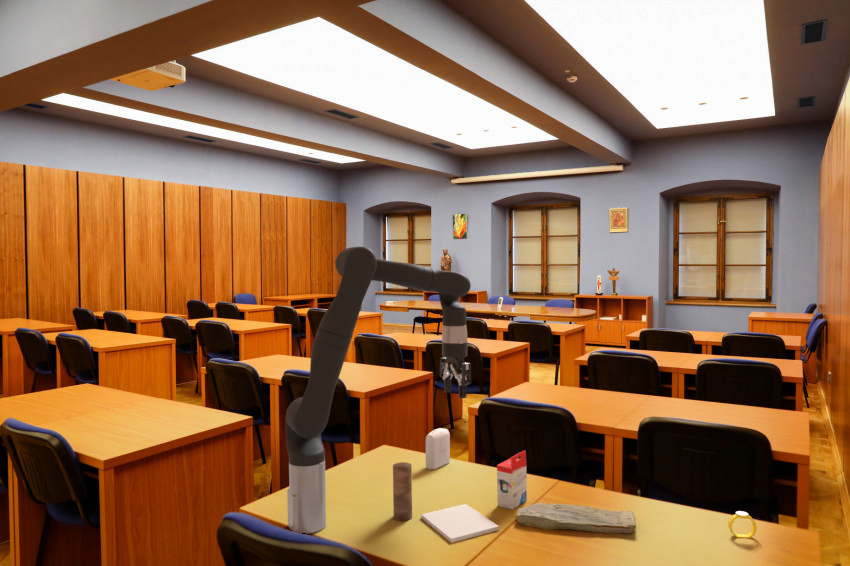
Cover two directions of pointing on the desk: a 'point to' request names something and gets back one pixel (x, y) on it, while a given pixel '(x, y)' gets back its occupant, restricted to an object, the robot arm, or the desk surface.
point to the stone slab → (576, 518)
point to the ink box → (512, 481)
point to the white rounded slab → (437, 448)
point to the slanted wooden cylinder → (402, 491)
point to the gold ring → (742, 515)
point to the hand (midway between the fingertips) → (455, 395)
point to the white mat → (459, 523)
